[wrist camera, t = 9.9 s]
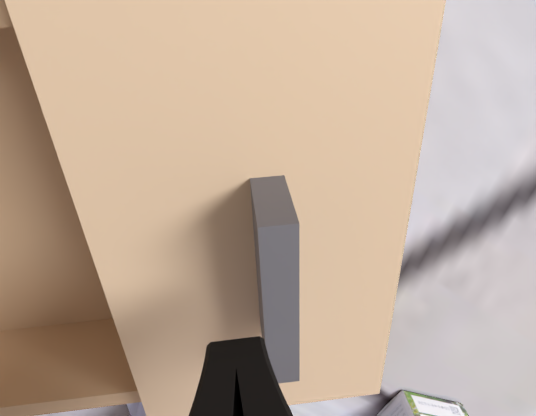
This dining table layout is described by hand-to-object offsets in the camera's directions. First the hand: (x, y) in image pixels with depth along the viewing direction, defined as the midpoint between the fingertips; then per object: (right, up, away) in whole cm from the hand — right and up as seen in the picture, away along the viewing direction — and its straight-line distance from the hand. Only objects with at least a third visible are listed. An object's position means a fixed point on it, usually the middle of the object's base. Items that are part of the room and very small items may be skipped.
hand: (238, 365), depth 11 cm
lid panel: (0, +3, +3) cm, 4 cm away
